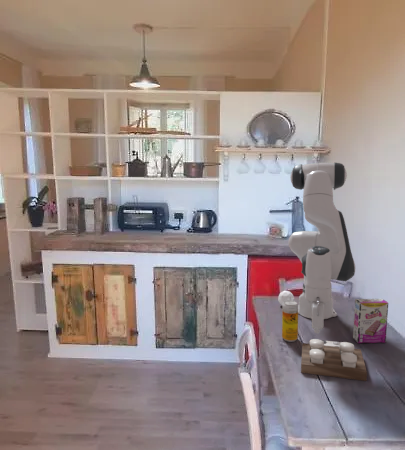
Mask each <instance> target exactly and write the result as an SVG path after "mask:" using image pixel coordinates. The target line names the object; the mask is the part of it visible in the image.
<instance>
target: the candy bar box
mask: <svg viewBox="0 0 405 450" xmlns="http://www.w3.org/2000/svg"><path fill="white" fill-rule="evenodd" d="M353 312H354V313H353V327H352V328H353V330H352V339H353V340H354V341H355V342H356V343H357V344H382V343H383V344H385V343H386V341H387V326H388V312H389V302H388V301H386V300H385V299H383V298H355V299H354V311H353Z"/></svg>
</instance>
